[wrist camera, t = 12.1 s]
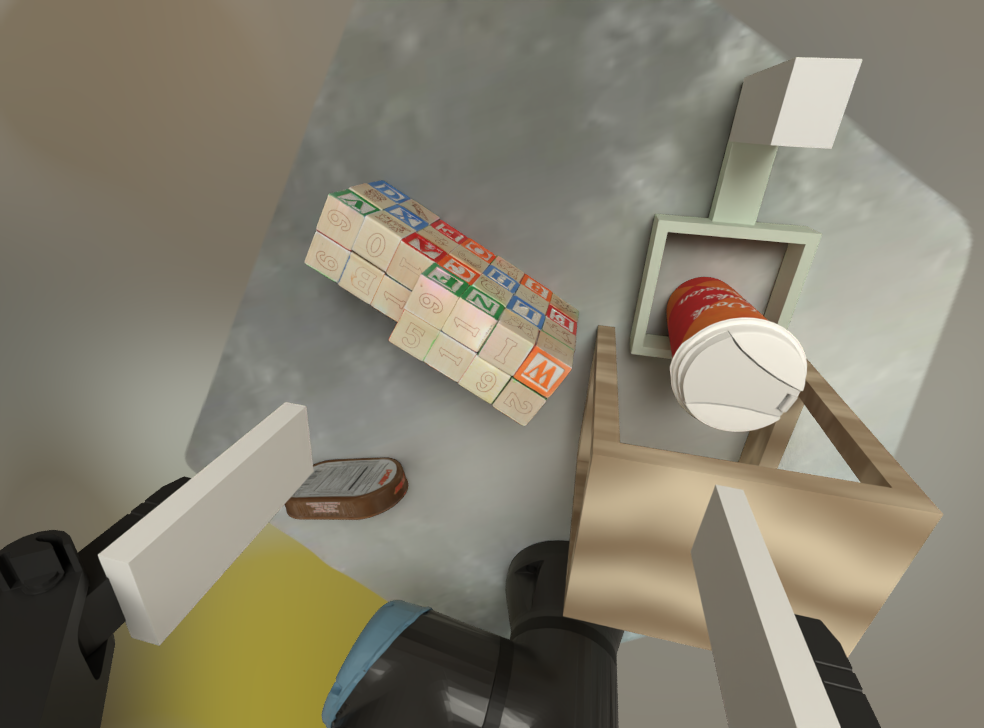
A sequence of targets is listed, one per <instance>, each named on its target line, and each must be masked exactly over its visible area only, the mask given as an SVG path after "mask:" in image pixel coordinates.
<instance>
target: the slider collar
mask: <svg viewBox="0 0 984 728" xmlns="http://www.w3.org/2000/svg"><path fill="white" fill-rule="evenodd" d="M861 62H862V59H838V58H836V59H835V58H801V57H796V58H793V59H791V60H788V61H786V62H783V63H780V64H778V65H775V66H773V67H770V68H768V69H765V70H762V71H760V72H757V73H755V74H752V75H749V76H747V77H745V78H744V82H743V86H742V90H741V94H740V98H739V102H738V106H737V109H736V113H735V117H734V121H733V125H732V129H731V133H730V137H729V141H728V144H727V148H726V151H725V155H724V159H723V163H722V167H721V171H720V175H719V179H718V183H717V187H716V191H715V195H714V199H713V203H712V207H711V210H710V214H709V218H700V217H688V216H676V215H664V214H655V217H654V222H653V227H652V232H651V237H650V242H649V247H648V252H647V257H646V262H645V267H644V271H643V276H642V281H641V286H640V291H639V296H638V301H637V306H636V311H635V316H634V321H633V326H632V331H631V336H630V348H631V354H635V355H643V356H650V357H658V358H665V359H672V352H671V346H670V339H669V337H667V336H659V335H651V334H646V329H647V324H648V320H649V315H650V311H651V306H652V302H653V297H654V292H655V288H656V283H657V279H658V274H659V269H660V265H661V260H662V256H663V251H664V246H665V242H666V237H667V233H668V232H674V233H685V234H696V235H707V236H718V237H729V238H741V239H752V240H763V241H774V242H785V243H789V244H788V247H787V250H786V253H785V256H784V259H783V262H782V265H781V268H780V271H779V274H778V277H777V280H776V283H775V286H774V289H773V291H772V294H771V297H770V300H769V303H768V306H767V309H766V312H765V315H764V317H765V318H766V319H767V320H768V321H770V322H774V323H776V324H778V325H780V326H782V327H784V328H785V329H786V330H787V329H788V326H789V323H790V320H791V318H792V315H793V312H794V310H795V307H796V304H797V301H798V299H799V296H800V293H801V291H802V288H803V285H804V282H805V280H806V277H807V274H808V272H809V269H810V266H811V263H812V261H813V258H814V255H815V253H816V250H817V247H818V244H819V242H820V239H821V236H822V234H821V233H819V232H817V231H815V230H813V229H811V228H809V227H807V226H796V225H784V224H772V223H760V222H756V219H757V216H758V213H759V209H760V206H761V203H762V199H763V196H764V193H765V189H766V186H767V183H768V179H769V176H770V173H771V169H772V166H773V163H774V159H775V156H776V153H777V149H778V146H795V147H813V148H830V149H831V148H832V145H833V142H834V140H835V137H836V134H837V131H838V128H839V125H840V122H841V120H842V117H843V114H844V111H845V108H846V105H847V102H848V99H849V97H850V93H851V90H852V88H853V85H854V82H855V79H856V76H857V73H858V70H859V68H860V65H861Z"/></svg>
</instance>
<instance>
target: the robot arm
mask: <svg viewBox="0 0 984 728" xmlns="http://www.w3.org/2000/svg"><path fill="white" fill-rule="evenodd" d="M313 471H314V470H313V461H312V453H311V444H310V435H309V426H308V418H307V409H306V406H303V405H298V404H292V403H287V402H285V403H284V404H283V405H281V406H280V407H279V408H278V409H277V410H275V411H274V412H273V413H272V414H270V415H269V416H268V417H267V418H266V419H264V420H263V421H262V422H261V423H259V424H258V425H257V426H256V427H254V428H253V429H252V430H251V431H250V432H248V433H247V434H246V435H245V436H243V437H242V438H241V439H240V440H238V441H237V442H236V443H235V444H234V445H232V446H231V447H230V448H229V449H227V450H226V451H225V452H224V453H222V454H221V455H220V456H219V457H218V458H216V459H215V460H214V461H213V462H211V463H210V464H209V465H208V466H206V467H205V468H204V469H203V470H202V471H200V472H199V473H198V474H197V475H195V476H194V477H193V478H188V477H182V478H180V479H178V480H176V481H174V482H172V483H169V484H167V485H165V486H163V487H162V488H160V489H159V490H158V491H156V492H155V493H154V494H153V495H151V496H150V497H149V498H147V499H146V500H145V503H141V504H140V505H139V506H137V507H136V508H135V509H133V510H132V511H131V513H130V514H127V515H126V516H124V517H123V518H122V519H120V520H119V521H118V522H117V523H115V524H114V525H113V526H111V527H110V528H109V529H108V530H106V531H105V532H104V533H103V534H101V535H100V536H99V537H97V538H96V539H95V540H94V541H92V542H91V543H90V544H88V545H87V546H86V547H84V548H83V549H82V550H81V551H79V552H78V553H77V550H76V548H75V546H74V544H73V541H72V539H71V537H70V536H69V535H68V534H67V533H65V532H64V531H58V530H49V531H41V532H37V533H34V534H31V535H28V536H25V537H22V538H20V539H18V540H16V541H14V542H12V543H10V544H9V545H7V546H6V547H4V548H3V549H2V550H0V728H100V725H101V720H102V714H103V709H104V703H105V698H106V692H107V687H108V681H109V674H110V670H111V664H112V658H113V653H114V647H115V639H114V635H113V633H114V632H115V631H116V630H117V629H118V628H119V627H120V626H121V625H122V624H123V623H124V622H126V625H127V627H128V630H129V632H130V635H131V637H132V638H135V639H139V640H142V641H145V642H149V643H152V644H156V645H160V644H161V643H162V642H163V641H164V640H165V639H166V638H167V636H168V635H169V634H170V633H171V632H172V631H173V630H174V629H175V627H176V626H177V625H178V624H179V623H180V622H181V621H182V619H183V618H184V617H185V616H186V615H187V614H188V613H189V612H190V611H191V609H192V608H193V607H194V606H195V605H196V604H197V603H198V601H199V600H200V599H201V598H202V597H203V596H204V595H205V594H206V592H207V591H208V590H209V589H210V588H211V587H212V585H213V584H214V583H215V582H216V581H217V580H218V579H219V578H220V576H221V575H222V574H223V573H224V572H225V571H226V569H228V567H229V566H230V565H231V564H232V563H233V562H234V561H235V559H236V558H237V557H238V556H239V555H240V554H241V553H242V552H243V550H244V549H245V548H246V547H247V546H248V545H249V544H250V542H251V541H252V540H253V539H254V538H255V537H256V536H257V535H258V533H259V532H260V531H261V530H262V529H263V528H264V527H265V526H266V524H267V523H268V522H269V521H270V520H271V519H272V518H273V517H274V515H275V514H276V513H277V512H278V511H279V510H280V509H281V508H282V506H283V505H284V504H285V503H286V502H287V501H288V500H289V498H290V497H291V496H292V495H293V494H294V493H295V492H296V491H297V489H298V488H299V487H300V486H301V485H302V484H303V483H304V482H305V480H306V479H307V478H308V477H309V476H310V475H311V474H312V472H313ZM568 553H569V542H567V541H549V542H542V543H538V544H535V545H532V546H530V547H528V548H526V549H524V550H523V551H521V552H520V553H519V554H518V555H517V556H516V557H515V558H514V559H513V561H512V563H511V565H510V568H509V572H508V576H507V581H506V598H507V606H508V613H509V621H510V628H511V636H510V640H508V639H506V638H503V637H500V636H498V635H496V634H493V633H490V632H488V631H485V630H482V629H480V628H477V627H474V626H472V625H469V624H466V623H464V622H461V621H458V620H456V619H453V618H451V617H448V616H446V615H443V614H441V613H439V612H436V611H434V610H433V609H432V608H430V607H421V606H418V605H415V604H411V603H408V602H405V601H402V600H393V601H390V602H388V603H386V604H385V605H383V606H382V607H381V608H380V609H379V610H378V611H377V612H376V613H375V615H373V617H372V618H371V619H370V621H369V622H368V623H367V625H366V626H365V628H364V629H363V631H362V632H361V634H360V635H359V637H358V639H357V640H356V642H355V644H354V645H353V647H352V649H351V650H350V652H349V654H348V656H347V657H346V659H345V661H344V663H343V665H342V667H341V669H340V671H339V673H338V675H337V677H336V682H335V683H334V685H333V687H332V689H331V691H330V692H329V694H328V696H327V699H326V701H325V704H324V708H323V711H322V720H323V723H324V724H325V725H326V727H327V728H618V693H617V663H616V661H617V660H616V657H617V651H618V648H619V645H620V642H621V639H622V636H623V633H624V630H621V629H616V628H612V627H608V626H604V625H599V624H595V623H591V622H586V621H582V620H578V619H573V618H569V617H565V616H563V609H564V598H565V587H566V575H567V564H568ZM691 557H692V561H693V566H694V570H695V575H696V580H697V584H698V589H699V593H700V598H701V603H702V607H703V612H704V616H705V621H706V625H707V630H708V635H709V639H710V644H711V648H712V653H713V657H714V662H715V667H716V671H717V676H718V680H719V685H720V690H721V694H722V699H723V703H724V708H725V712H726V717H727V721H728V726H729V728H881V727H880V725H879V723H878V720H877V718H876V716H875V714H874V712H873V710H872V708H871V706H870V704H869V702H868V700H867V698H866V695H865V694H863V693H862V687H861V685H860V683H859V681H858V679H857V677H856V675H855V673H853V672H852V667H851V664H850V662H849V660H848V658H847V656H846V654H845V652H844V650H843V648H842V645H841V643H840V642H839V641H838V640H837V639H836V637H835V636H834V635H833V634H832V633H831V632H830V630H829V629H828V628H827V627H826V626H825V625H824V623H823V622H822V621H821V620H819V619H815V618H810V617H806V616H802V615H797V614H794V612H793V610H792V607H791V605H790V603H789V600H788V598H787V595H786V593H785V590H784V588H783V586H782V583H781V581H780V578H779V576H778V573H777V571H776V569H775V566H774V564H773V561H772V559H771V556H770V554H769V551H768V549H767V547H766V544H765V542H764V539H763V537H762V534H761V532H760V530H759V527H758V525H757V522H756V520H755V517H754V515H753V513H752V510H751V508H750V505H749V503H748V500H747V498H746V495H745V493H744V491H743V490H742V489H736V488H731V487H726V486H721V485H715V487H714V490H713V493H712V495H711V498H710V501H709V503H708V506H707V509H706V511H705V514H704V517H703V520H702V522H701V525H700V528H699V530H698V533H697V536H696V538H695V541H694V544H693V547H692V549H691Z"/></svg>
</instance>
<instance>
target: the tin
mask: <svg viewBox="0 0 984 728" xmlns="http://www.w3.org/2000/svg"><path fill="white" fill-rule="evenodd" d="M313 470H314V471H313V472H312V474H311V475H310V476H309V477H308V478H307V479H306V480H305V482H304V483H303V484H302V485H301V486H300V487H299V488H298V489H297V491H296V492H295V493H294V494H293V495H292V496H291V497H290V498H289V500H288V501H287V502H286V503H285V506H286V511H287V514H288V515H289V516H290V517H292V518H295V519H332V520H334V519H338V520H359V519H365V518H370V517H373V516H376V515H378V514H381V513H383V512H385V511H387V510H389V509H390V508H392V507H393V506H395V505H396V504H397V503H398V502H399V501H400V500H401V499H402V498H403V497H404V495H405V494H406V492H407V490H408V481H407V479H406V477H405V473H404V470H403V468H402V466H401V464H400V463H399V462H398V461H397V460H395V459H392V458H360V459H337V460H327V461H323V462H319V463H316V464H314V465H313Z"/></svg>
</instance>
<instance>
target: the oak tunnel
mask: <svg viewBox="0 0 984 728" xmlns="http://www.w3.org/2000/svg"><path fill="white" fill-rule="evenodd" d="M806 361H807V375H806V378H805V386H804V389H803V391H801V392H800V393H799V395H798V397H797V398H798V399H797V400H796V401H795V402H794V403H793V405H792V406H791V407H790V408H789V410H788V411H787V412H783V413H782V415H781V416H780V419H779V420H778V421H776V422H774V423H772V424H770V425H768V426H766V427H763V428H759V429H756V430H751V431H750V432H749V435H748V438H747V440H746V443H745V446H744V448H743V451H742V454H741V457H740V459H739V462H732V461H726V460H720V459H714V458H708V457H702V456H696V455H690V454H684V453H678V452H672V451H666V450H660V449H654V448H648V447H642V446H636V445H630V444H624V443H620V433H619V409H618V386H617V363H616V340H615V327H608V326H600V325H598V330H597V336H596V342H595V348H594V354H593V360H592V366H591V372H590V378H589V384H588V390H587V396H586V402H585V408H584V415H583V421H582V427H581V433H580V439H579V445H578V453H577V464H576V475H575V486H574V497H573V509H572V520H571V531H570V542H569V553H568V564H567V575H566V587H565V598H564V609H563V616H565V617H569V618H573V619H578V620H582V621H586V622H591V623H595V624H599V625H604V626H608V627H612V628H616V629H621V630H625V631H629V632H634V633H638V634H642V635H646V636H651V637H655V638H660V639H664V640H668V641H673V642H677V643H681V644H685V645H689V646H694V647H698V648H702V649H707V650H711V651H712V648H711V644H710V639H709V635H708V630H707V625H706V621H705V616H704V612H703V607H702V603H701V598H700V593H699V589H698V584H697V580H696V575H695V570H694V566H693V561H692V557H691V549H692V547H693V544H694V541H695V538H696V536H697V533H698V530H699V528H700V525H701V522H702V520H703V517H704V514H705V511H706V509H707V506H708V503H709V501H710V498H711V495H712V493H713V490H714V487H715V485H721V486H726V487H731V488H736V489H742V490H743V491H744V493H745V495H746V498H747V500H748V503H749V505H750V508H751V510H752V513H753V515H754V517H755V520H756V522H757V525H758V527H759V530H760V532H761V534H762V537H763V539H764V542H765V544H766V547H767V549H768V551H769V554H770V556H771V559H772V561H773V564H774V566H775V569H776V571H777V573H778V576H779V578H780V581H781V583H782V586H783V588H784V590H785V593H786V595H787V598H788V600H789V603H790V605H791V607H792V610H793V612H794V614H797V615H802V616H806V617H810V618H815V619H819V620H821V621H822V622H823V623H824V625H825V626H826V627H827V628H828V629H829V630H830V632H831V633H832V634H833V635H834V636H835V637H836V639H837V640H838V641H839V642H840V643H841V645H842V648H843V650H844V652H845V654H846V656H847V658H848V657H849V655H850V654H851V652H852V651H853V649H854V648H855V646H856V644H857V643H858V641H859V640H860V638H861V637H862V635H863V634H864V632H865V631H866V630H867V628H868V626H869V625H870V624H871V622H872V621H873V619H874V618H875V616H876V614H877V613H878V612H879V610H880V608H881V607H882V605H883V604H884V603H885V601H886V600H887V598H888V597H889V595H890V594H891V592H892V591H893V589H894V588H895V586H896V585H897V583H898V582H899V580H900V579H901V577H902V575H903V574H904V573H905V571H906V569H907V568H908V566H909V565H910V564H911V562H912V560H913V559H914V558H915V556H916V555H917V553H918V551H919V550H920V549H921V547H922V546H923V544H924V543H925V541H926V540H927V538H928V537H929V535H930V534H931V532H932V531H933V529H934V528H935V526H936V525H937V523H938V522H939V520H940V519H941V517H942V516H943V513H942V512H941V511H940V510H939V509H938V508H937V507H936V505H935V504H934V503H933V502H932V501H931V500H930V499H929V497H927V495H926V494H925V493H924V492H923V491H922V490H921V488H920V487H919V486H918V485H917V484H916V483H915V482H914V481H913V479H912V478H911V477H910V476H909V475H908V474H907V472H906V471H905V470H904V469H903V468H902V467H901V466H900V464H899V463H898V462H897V461H896V460H895V459H894V458H893V456H892V455H891V454H890V453H889V452H888V451H887V450H886V449H885V447H884V446H883V445H882V444H881V443H880V442H879V441H878V439H877V438H876V437H875V436H874V435H873V434H872V433H871V431H870V430H869V429H868V428H867V427H866V426H865V425H864V423H863V422H862V421H861V420H860V419H859V418H858V417H857V415H856V414H855V413H854V412H853V411H852V410H851V409H850V408H849V406H848V405H847V404H846V403H845V402H844V401H843V400H842V398H841V397H840V396H839V395H838V394H837V393H836V392H835V390H834V389H833V388H832V387H831V386H830V385H829V384H828V382H827V381H826V380H825V379H824V378H823V377H822V376H821V375H820V373H819V372H818V371H817V370H816V369H815V368H814V367H813V365H812V364H811V363H810V362H809V361H808V360H807V359H806ZM804 405H805V406H806V407H807V409H808V410H809V412H810V413H811V414H812V416H813V417H814V418H815V420H816V421H817V423H818V424H819V425H820V427H821V428H822V430H823V431H824V432H825V434H826V435H827V436H828V438H829V439H830V441H831V442H832V443H833V445H834V446H835V447H836V449H837V450H838V452H839V453H840V454H841V456H842V457H843V459H844V460H845V461H846V463H847V464H848V465H849V467H850V468H851V470H852V471H853V472H854V474H855V475H856V477H857V478H858V479H859V481H860V482H861V483H859V482H853V481H847V480H841V479H835V478H829V477H823V476H817V475H811V474H805V473H799V472H793V471H786V470H780V469H777V468H778V465H779V463H780V461H781V458H782V456H783V454H784V451H785V449H786V446H787V444H788V442H789V439H790V437H791V434H792V432H793V430H794V427H795V425H796V423H797V420H798V418H799V415H800V413H801V411H802V408H803V406H804Z"/></svg>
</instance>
